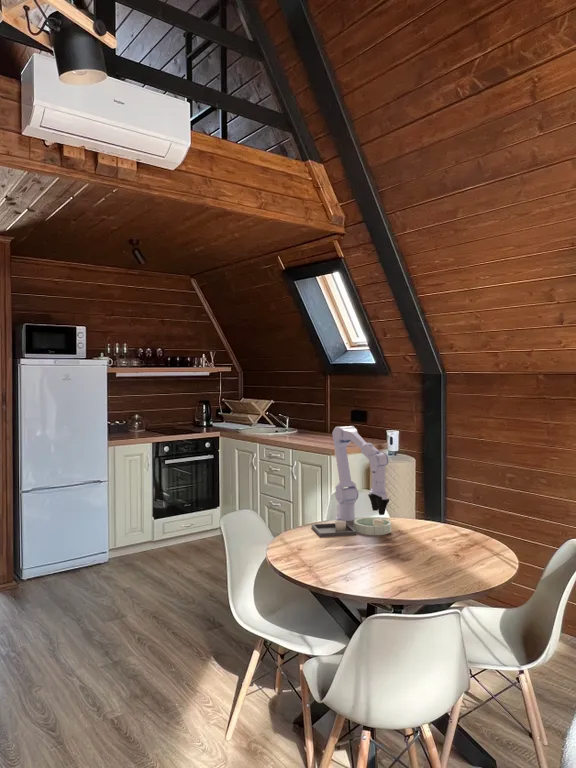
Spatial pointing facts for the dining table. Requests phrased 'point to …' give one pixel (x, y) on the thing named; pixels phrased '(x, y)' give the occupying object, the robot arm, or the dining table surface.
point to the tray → (331, 530)
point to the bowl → (371, 526)
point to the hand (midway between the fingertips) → (378, 512)
